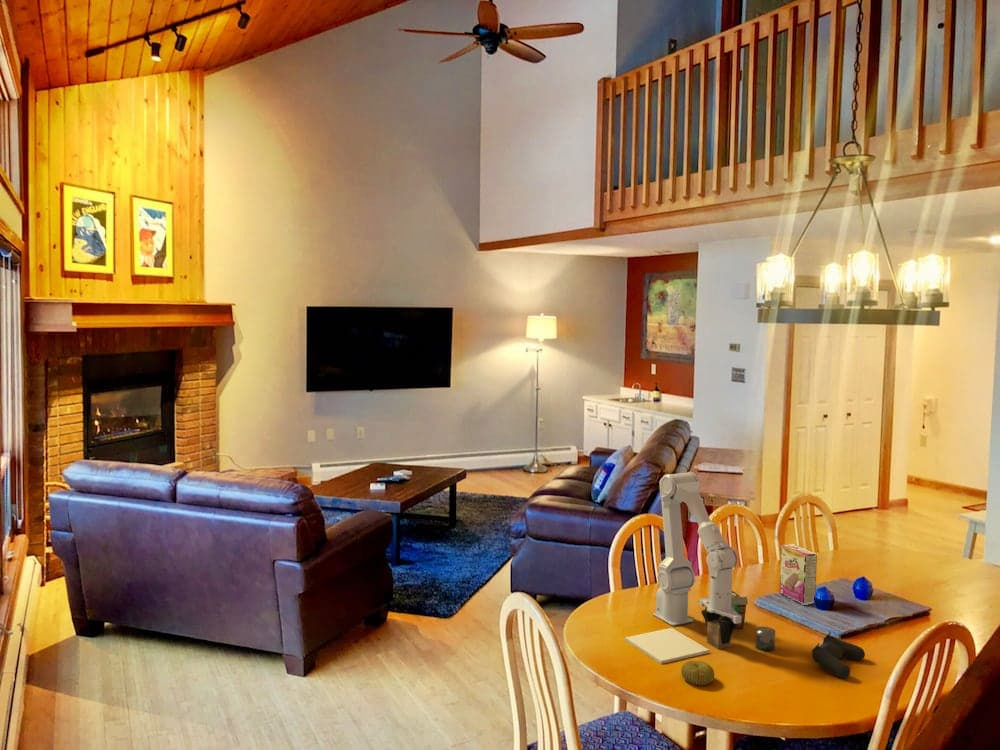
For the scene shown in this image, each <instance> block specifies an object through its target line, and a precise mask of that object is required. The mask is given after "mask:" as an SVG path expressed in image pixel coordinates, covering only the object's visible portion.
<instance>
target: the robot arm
mask: <svg viewBox="0 0 1000 750" xmlns="http://www.w3.org/2000/svg"><path fill="white" fill-rule="evenodd" d="M658 483H659V492H660V493H659V494H660V501H661V513H662V525H663V536H664V539H663V540H664V549H665V550H664V551H665V558H664V559H663V560H662V561H661V562H660V563H659V564H658V574H657V583H658V586H659V588H658V589H657V590H656V595H655V612H653V616H655V617H656V618H658V619H659V620H662V621H663V622H666V624H668V625H670V626H672V627H675V626H678V625H679V626H680V625H684V624H689V623H692V622H693V623H694V621H695V620H694V619H693V618H692V617H689V616H688V615H689V614H688V613H689V612H688V610H689V607H688V606H689V592H690V591H691V588H692V587H694V584H695V583H696V582H695V581H696V577H695V573H694V570H693V566H692V564H693V563H692V562H691V561H689V559H687V558H686V556H685V549H684V538H683V537H684V536H683V535H684V534H683V525H682V513H681V512H682V511H681V504H682V503H685V505H686V506H687V507H688V509H689V511H690V513H691V514H692V516H693V518H694V520H695V521H696V524H697V525H698V529H697V534H698V537H699V538H700V541H701V543H702V544H703V546H704V549H705V552H706V553H707V556H706V557H705V561H706V564H707V567H708V573H709V576H710V579H709V580H710V583H709V598H707V597H703V598H702V597H701V598H699V606H701V607H705V608H704V609H702V610H701V612H700V613H701V615H702V618H703V619H704V621H705V625H706V627H707V626H708V622H709V621H713V620H718V622H719V625H720V629H721V642H722V644H726V643H729V641H730V638H731V639H732V634H733V632H734V628H735V626H736V625H737V624H738V623H741V618H742V616H741V615H739V614H738V613H737V612H736V611H735V610H734V609H733V608H732V607H731V593H732V591H733V569H734V568H735V567H736V566H737V565H738V555H737V552H736V550H735V549H734V547H732V546H730V545H729V543H727V542H726V541H725V539H724V536H723V535H722V532H721V531H720V528H719V527H718V524H717V523H715V522H713V521H711V519H710V516H709V514H708V512H707V509H706V506H705V504H704V502H703V499H702V496H701V494H700V491H701V483H700V482H699V477H698V476H697V475H696V474H695V472H692V471H688V472H680V473H665V474H664V475H663V476H662V477H661V478H660V480H659V481H658ZM720 615H722V616H724V618H721V619H719V617H720Z"/></svg>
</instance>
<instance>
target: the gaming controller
mask: <svg viewBox="0 0 1000 750" xmlns="http://www.w3.org/2000/svg"><path fill="white" fill-rule="evenodd" d="M822 640H823V641H822V644H820V643H819V642H818V644H816V646H815V647H813V648H812V649H811V658H812V659H813V660H814V662H815V663H817V664H818V665H819V666H820V667H821V668H823V669H824V670H825V671H828V672H829V673H830V674H832V675H834V676H836V677H837V678H840V679H847V678H849V677H850V675H851V669H850V667H849V665H848V664H846V663H845V662H843V661H841V660H840V659H842V657H844V658H847V659H850V660H853V661H857V662H859V661H860V662H861V661H862V660H864V659H865V656H866V653H865V651H864V649H863V648H862V647H860V646H858V645H856V644H854V643H851V642H848V641H843V640H842V639H839V638H837V637H835V636H833V635H831V632H828V634H827V635H825V636H824V637H823V639H822Z"/></svg>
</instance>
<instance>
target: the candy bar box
mask: <svg viewBox="0 0 1000 750" xmlns="http://www.w3.org/2000/svg"><path fill="white" fill-rule="evenodd" d="M817 561H818V553H816V552H813V551H811V550H808V549H806V548H804V547H801V546H799V545H796V544H795V543H789V544H782V545H781V547H780V569H779V570H780V574H779V594H780V595H781V594H783V595H786V596H788V597H790V598H793V599H795V600H798V601H800V602H803V603H806V602H811V601H813V599H814V595H815V596H816V588H817V587H816V585H817V565H818V564H817V563H818V562H817ZM783 595H782V596H783Z"/></svg>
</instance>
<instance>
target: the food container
mask: <svg viewBox="0 0 1000 750" xmlns="http://www.w3.org/2000/svg"><path fill="white" fill-rule="evenodd" d="M748 602H749V600H748V597H747V596H740V595H739V594H738V593H737V592H736V591H733V590H732V593H731V607H732V608H733V609H734V610H735V611H736V612H737V613H738V614H739V615H741V616H742V618H741V623H738V624H737V625H736V626H735V628H734V630H737V631H738V630H739V631H740V630H741V631H742V630H744V628H745V619H746V610H747V609H746V608H747V605H748V604H749V603H748ZM721 618H724V616H722V615H720V617H719V619H721ZM734 630H733V631H734Z"/></svg>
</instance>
